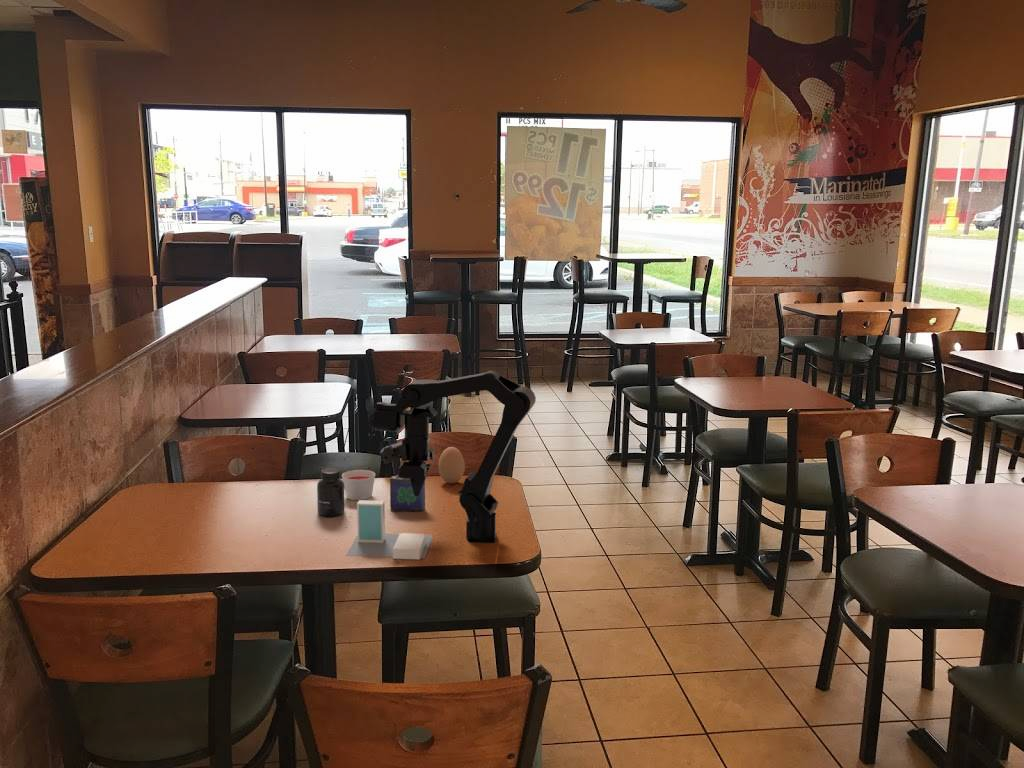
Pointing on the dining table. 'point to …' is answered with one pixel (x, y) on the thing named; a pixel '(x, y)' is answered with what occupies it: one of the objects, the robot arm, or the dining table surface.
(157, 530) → the dining table surface
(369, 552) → the mat
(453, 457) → the egg
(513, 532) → the dining table surface
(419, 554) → the tile
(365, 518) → the tile
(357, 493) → the candle
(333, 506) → the supplement bottle
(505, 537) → the dining table surface
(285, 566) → the dining table surface
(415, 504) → the flask
